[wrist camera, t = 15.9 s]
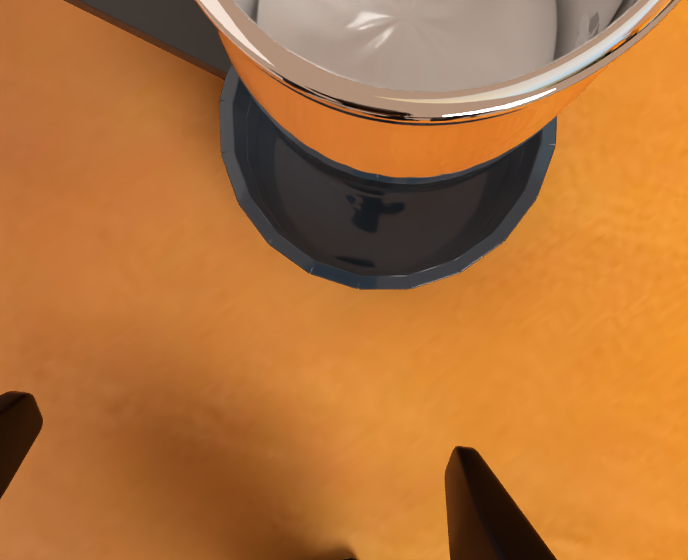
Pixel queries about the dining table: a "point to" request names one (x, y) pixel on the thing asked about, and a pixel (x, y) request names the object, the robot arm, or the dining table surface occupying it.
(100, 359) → the dining table surface
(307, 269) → the saucepan
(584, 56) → the chrome pilsner tumbler
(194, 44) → the saucepan handle
